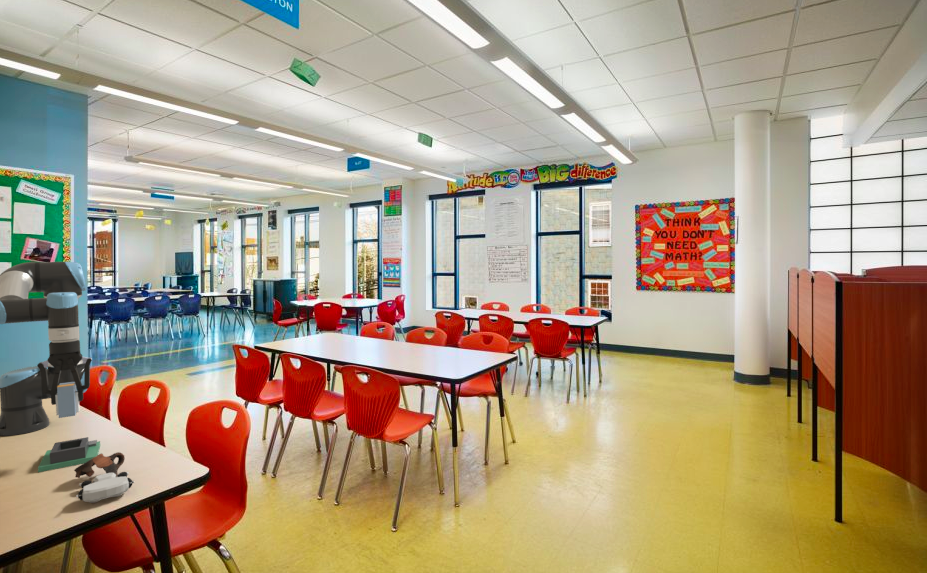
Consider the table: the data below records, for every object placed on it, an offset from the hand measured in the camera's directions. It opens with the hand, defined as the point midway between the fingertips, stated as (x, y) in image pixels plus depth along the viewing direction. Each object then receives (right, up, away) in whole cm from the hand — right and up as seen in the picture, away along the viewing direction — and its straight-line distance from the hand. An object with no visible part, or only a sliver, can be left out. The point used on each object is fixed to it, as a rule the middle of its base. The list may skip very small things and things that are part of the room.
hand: (68, 412), depth 150 cm
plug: (0, -1, 0) cm, 1 cm away
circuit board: (-1, -16, +2) cm, 16 cm away
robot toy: (+29, -17, -22) cm, 40 cm away
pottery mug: (+20, -16, -12) cm, 29 cm away
